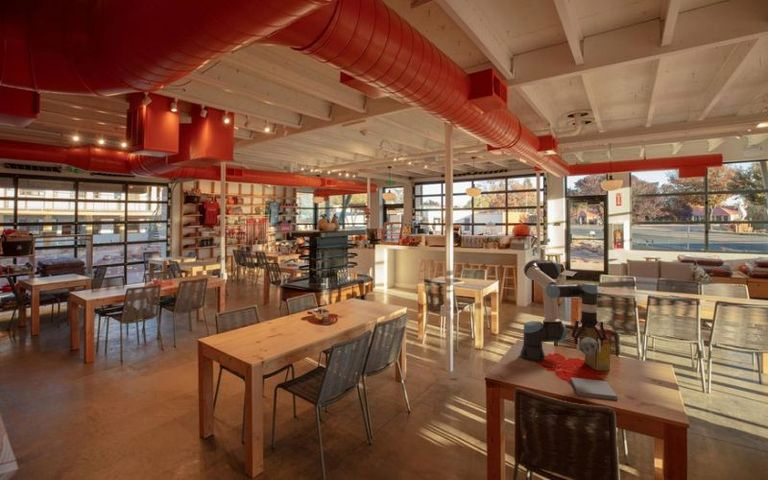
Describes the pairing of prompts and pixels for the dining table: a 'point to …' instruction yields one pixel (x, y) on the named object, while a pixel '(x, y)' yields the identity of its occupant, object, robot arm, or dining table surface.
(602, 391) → the plate
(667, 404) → the dining table surface
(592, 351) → the spool
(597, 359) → the food packaging
